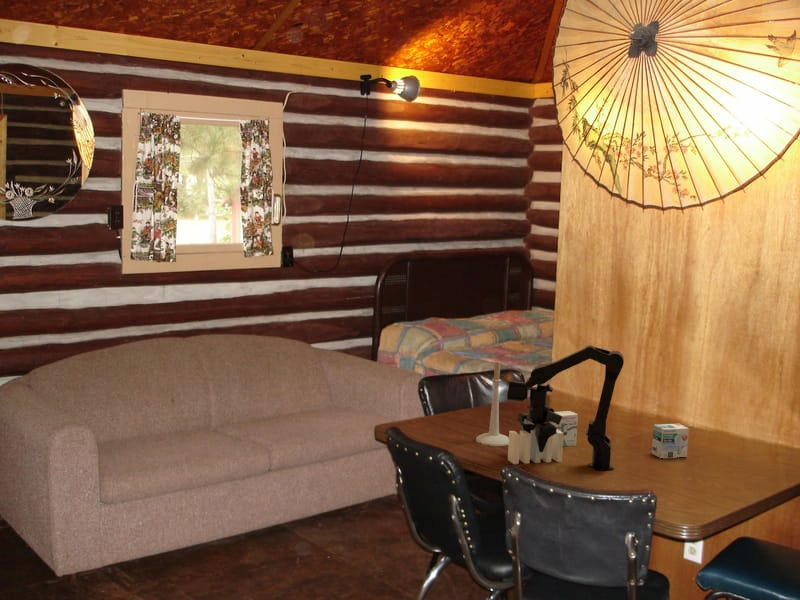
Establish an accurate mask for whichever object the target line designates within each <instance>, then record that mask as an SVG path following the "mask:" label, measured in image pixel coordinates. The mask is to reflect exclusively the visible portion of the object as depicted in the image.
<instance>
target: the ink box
mask: <svg viewBox="0 0 800 600" xmlns="http://www.w3.org/2000/svg"><path fill="white" fill-rule="evenodd" d="M554 412H555V413H557V414H559V415H561V416H562V419H561V421H560V424H559V425H557V424H556V423H554V422H551V421H550V423H551V424H552V425H554V426H555V427H556V428H557V429H558V430H559V431H561V432H563V433H564V435H563V447H571V446H573V447H574V446H576V445H577V436H578V435H577V433H578V420H579V419H578V418H579V414H578V413H575V412H574V411H570V410H567V411H566V410H565V411H564V410H563V411H554Z"/></svg>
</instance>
